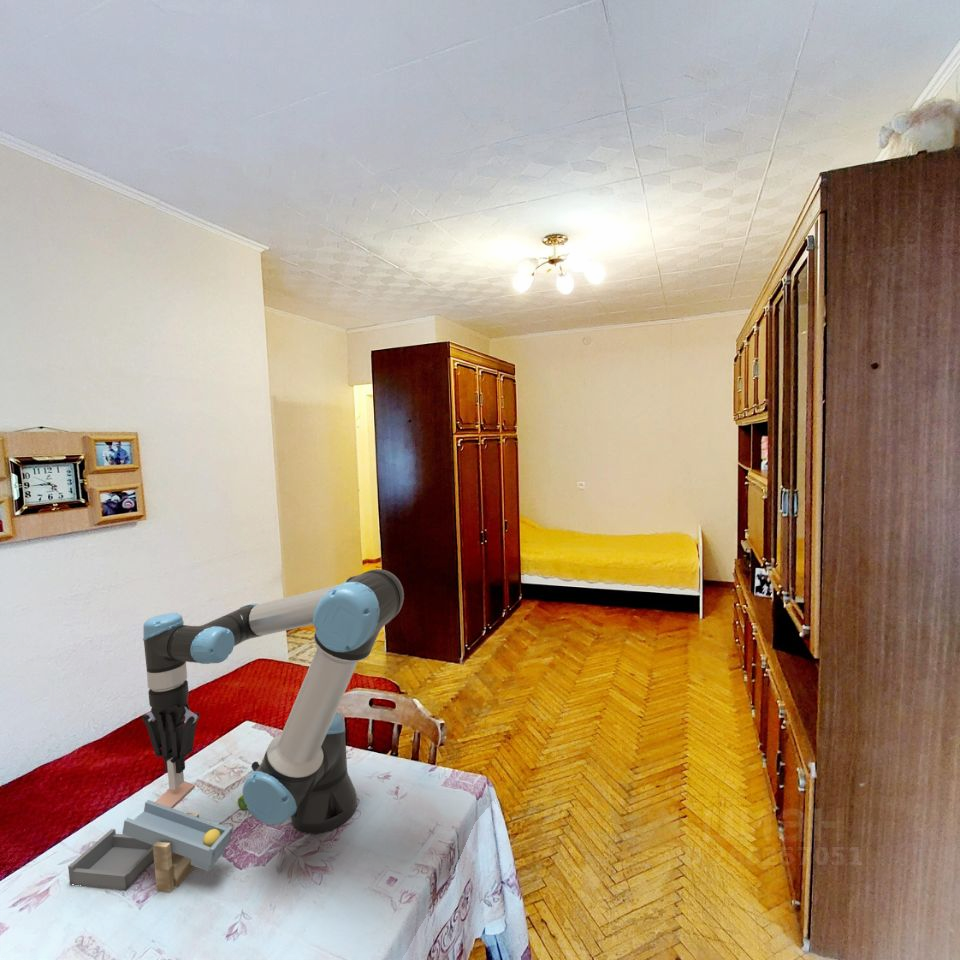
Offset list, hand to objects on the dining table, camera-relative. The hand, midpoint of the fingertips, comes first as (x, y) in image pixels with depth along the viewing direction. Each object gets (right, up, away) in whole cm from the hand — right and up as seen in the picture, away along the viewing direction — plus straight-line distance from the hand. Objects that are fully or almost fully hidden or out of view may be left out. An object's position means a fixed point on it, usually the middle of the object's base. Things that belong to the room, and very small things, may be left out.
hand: (176, 785), depth 113 cm
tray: (-8, -13, -8) cm, 17 cm away
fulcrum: (+7, -12, -10) cm, 17 cm away
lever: (+7, -6, -6) cm, 11 cm away
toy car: (+15, -11, +11) cm, 22 cm away
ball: (+14, -4, -12) cm, 19 cm away
